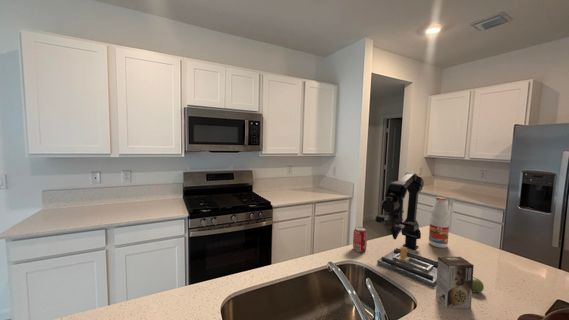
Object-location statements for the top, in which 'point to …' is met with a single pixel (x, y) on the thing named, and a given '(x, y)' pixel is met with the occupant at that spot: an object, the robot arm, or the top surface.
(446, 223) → the fruit juice
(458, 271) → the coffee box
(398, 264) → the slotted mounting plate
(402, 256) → the breaker lever
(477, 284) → the pear
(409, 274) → the panel
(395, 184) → the robot arm
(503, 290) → the top surface
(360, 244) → the soda can
